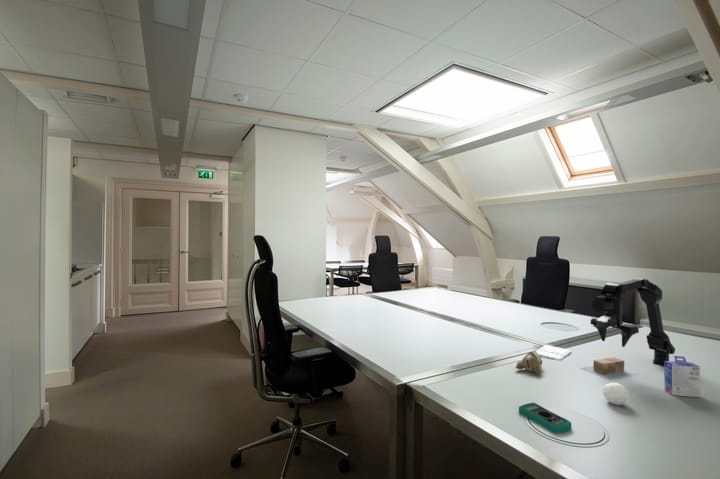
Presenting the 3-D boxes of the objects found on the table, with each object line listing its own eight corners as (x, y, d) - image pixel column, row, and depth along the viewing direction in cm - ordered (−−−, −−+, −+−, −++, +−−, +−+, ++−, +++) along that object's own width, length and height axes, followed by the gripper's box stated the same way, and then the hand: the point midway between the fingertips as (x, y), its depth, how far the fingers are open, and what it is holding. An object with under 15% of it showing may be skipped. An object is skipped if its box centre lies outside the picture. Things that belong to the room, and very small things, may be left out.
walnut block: (613, 357, 167) (593, 360, 162) (624, 360, 162) (604, 363, 158) (613, 367, 167) (593, 370, 162) (624, 371, 162) (604, 374, 158)
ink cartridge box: (691, 391, 142) (691, 356, 142) (701, 398, 136) (701, 361, 136) (662, 389, 144) (663, 354, 144) (672, 395, 138) (672, 359, 138)
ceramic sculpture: (547, 350, 166) (539, 360, 154) (547, 367, 166) (539, 379, 155) (523, 345, 173) (514, 354, 161) (523, 362, 173) (514, 373, 162)
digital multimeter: (557, 436, 110) (557, 426, 110) (517, 413, 124) (517, 404, 124) (573, 431, 113) (573, 421, 113) (533, 409, 127) (533, 400, 127)
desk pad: (607, 364, 172) (607, 364, 172) (637, 375, 158) (637, 374, 158) (580, 368, 166) (580, 368, 166) (609, 380, 153) (609, 379, 153)
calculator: (571, 353, 190) (571, 349, 190) (560, 362, 176) (560, 358, 176) (545, 347, 200) (545, 344, 200) (532, 355, 186) (532, 352, 186)
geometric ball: (609, 408, 133) (603, 386, 138) (634, 406, 128) (627, 384, 133) (603, 403, 129) (597, 380, 134) (629, 401, 124) (621, 378, 129)
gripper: (582, 307, 169) (581, 339, 169) (622, 315, 151) (621, 351, 151) (599, 306, 173) (598, 337, 173) (639, 314, 155) (639, 349, 155)
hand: (613, 343), depth 163 cm, fingers open, 9 cm apart
